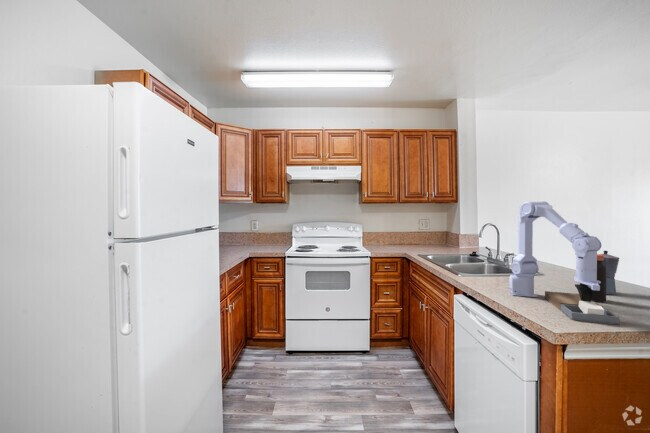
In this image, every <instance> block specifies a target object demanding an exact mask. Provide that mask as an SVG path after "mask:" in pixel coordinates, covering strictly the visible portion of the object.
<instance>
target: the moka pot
mask: <svg viewBox="0 0 650 433" xmlns="http://www.w3.org/2000/svg"><path fill="white" fill-rule="evenodd" d="M608 253H609V251H608V250H603V253H600V255H604V260H603V264H604V265H605V266H606V267H607V279H606V295H611V296H612V295H613V296H614V295H617V289H616V280H615V277H616V274H617V271H618V266H619V262H620V257H618V256H616V255H615V256H614V255H611V254H608Z"/></svg>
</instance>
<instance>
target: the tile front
mask: <svg viewBox="0 0 650 433" xmlns="http://www.w3.org/2000/svg"><path fill="white" fill-rule="evenodd" d="M601 306H602V305H601ZM601 306H598V305H587V304H585V306H584V313H586V314H596V315H604V309H605V308H604V307H603V308H604V309H603V308H602V307H601Z"/></svg>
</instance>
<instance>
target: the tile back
mask: <svg viewBox="0 0 650 433" xmlns="http://www.w3.org/2000/svg"><path fill="white" fill-rule="evenodd" d="M596 303H597V302H596ZM596 303H595V302H588V301H579V305H578V307H579V308H580V309H581V310H582V312H583V313H584V306H585V304H587V305H597V304H598V303H597V304H596Z"/></svg>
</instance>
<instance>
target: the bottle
mask: <svg viewBox="0 0 650 433" xmlns="http://www.w3.org/2000/svg"><path fill="white" fill-rule="evenodd" d="M600 254H601V253H600ZM600 254H599V253H597V280H598V281H600V282H601V283H598V285H600V291H596V292H595V293H594V295H593V297H592V301H594V302H596V303H606V302H607V294H606V279H607V267H606V266H605V265H604V264H603V260H604V255H600Z"/></svg>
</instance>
